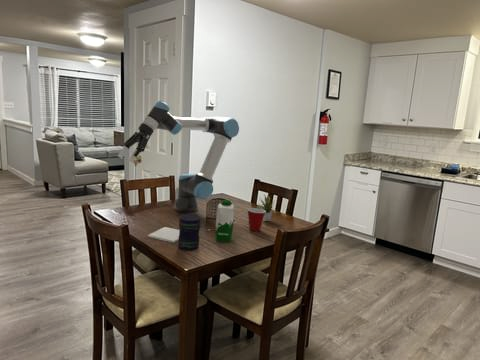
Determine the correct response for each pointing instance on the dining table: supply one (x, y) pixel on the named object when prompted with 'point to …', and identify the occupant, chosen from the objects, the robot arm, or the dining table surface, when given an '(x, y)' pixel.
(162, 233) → the plate
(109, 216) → the dining table surface
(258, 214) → the plastic cup
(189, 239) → the storage jar
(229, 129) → the robot arm
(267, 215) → the house plant
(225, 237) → the soya milk
